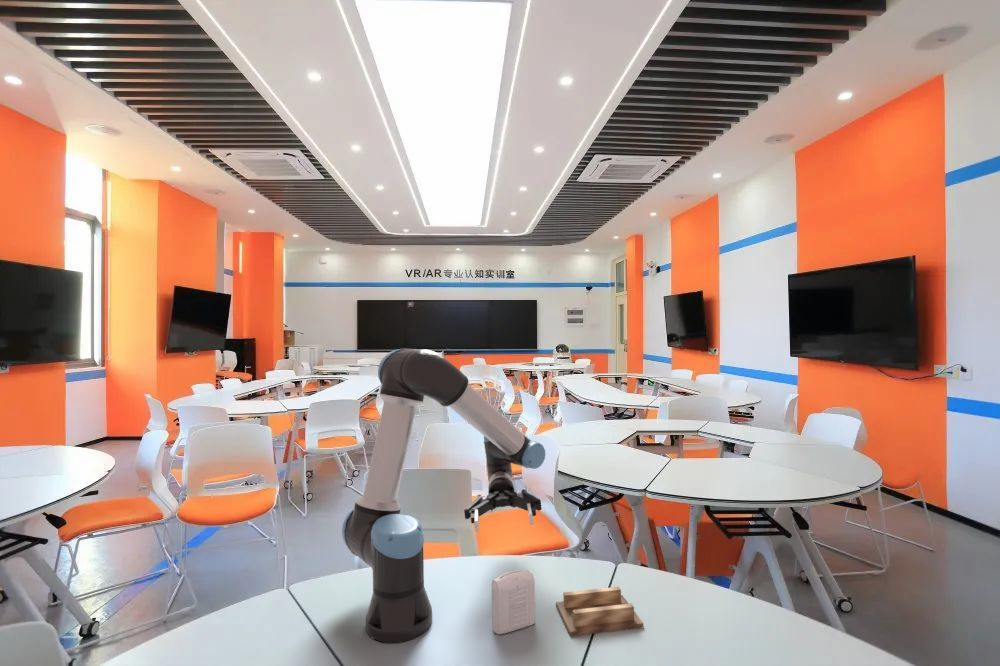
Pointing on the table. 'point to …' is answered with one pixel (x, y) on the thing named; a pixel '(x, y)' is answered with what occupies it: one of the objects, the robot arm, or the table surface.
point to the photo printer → (513, 601)
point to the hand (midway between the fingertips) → (504, 523)
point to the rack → (597, 611)
